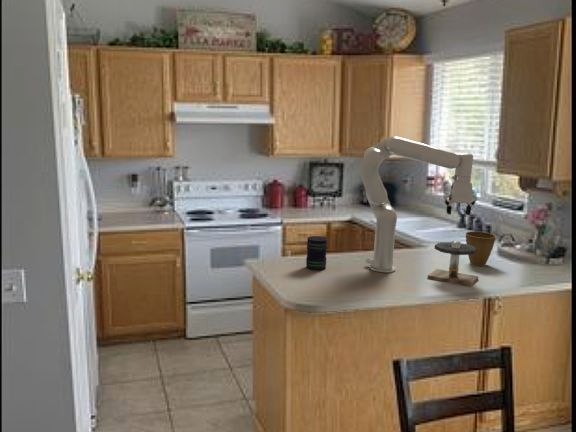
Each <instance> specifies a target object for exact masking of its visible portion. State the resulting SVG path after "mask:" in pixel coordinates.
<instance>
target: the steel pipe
mask: <svg viewBox="0 0 576 432" xmlns="http://www.w3.org/2000/svg"><path fill="white" fill-rule="evenodd" d="M451 242H452V245H451V248H460V245H461V243H462V241H459V240H452V241H451ZM459 265H460V255H455V254H450V259H449V268H448V271H449V276H451V277H457V276H458V273H459V270H460V269H459Z"/></svg>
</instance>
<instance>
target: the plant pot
mask: <svg viewBox="0 0 576 432" xmlns="http://www.w3.org/2000/svg"><path fill="white" fill-rule="evenodd" d="M496 239H497V236H496V234H493V233H489V232H484V231H477V230H475V231H473V230H472V231H467V232H465V242H466V243H465V244H468V245H471V246H473V247H476V248H477V252H476V253H475V254H472V255H467V256H468V260H469V262H470V263H469V264H470V265H473V266H477V267H483V266H486V264H487V262H488V260H489V258H490V257H491V253H492V251H493V248H494V245H495V241H496Z"/></svg>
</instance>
